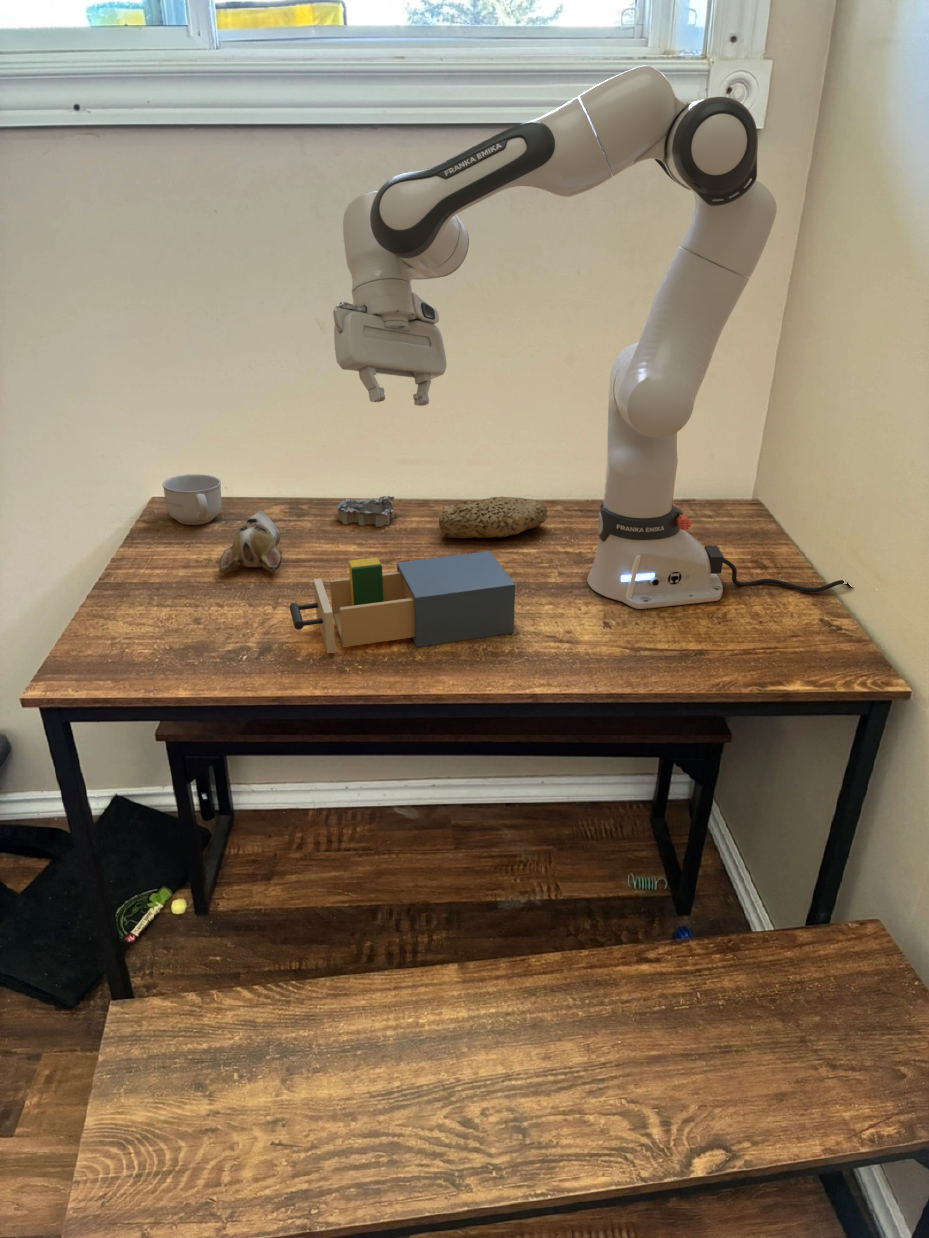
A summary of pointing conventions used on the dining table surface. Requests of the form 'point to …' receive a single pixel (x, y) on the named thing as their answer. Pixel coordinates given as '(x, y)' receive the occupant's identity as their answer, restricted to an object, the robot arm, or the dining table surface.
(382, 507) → the egg carton
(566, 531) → the dining table surface
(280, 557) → the ceramic sculpture
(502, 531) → the sponge
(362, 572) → the scrub sponge
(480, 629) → the cabinet
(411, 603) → the drawer
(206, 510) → the teacup
